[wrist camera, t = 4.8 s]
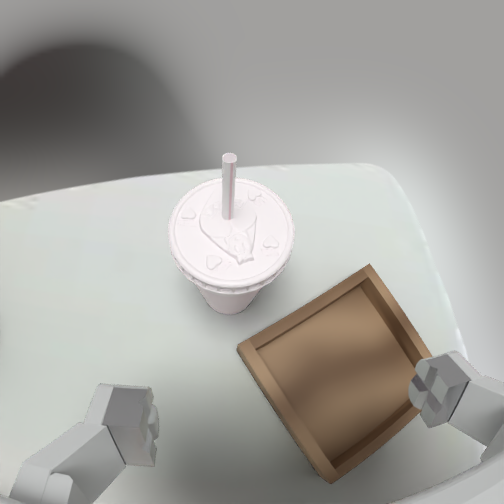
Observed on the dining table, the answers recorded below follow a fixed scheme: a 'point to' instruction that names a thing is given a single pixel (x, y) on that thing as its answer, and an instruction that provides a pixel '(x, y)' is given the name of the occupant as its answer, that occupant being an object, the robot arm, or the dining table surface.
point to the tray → (339, 372)
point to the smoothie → (230, 238)
